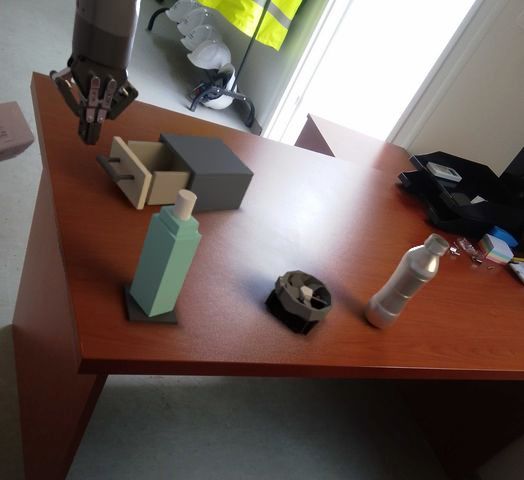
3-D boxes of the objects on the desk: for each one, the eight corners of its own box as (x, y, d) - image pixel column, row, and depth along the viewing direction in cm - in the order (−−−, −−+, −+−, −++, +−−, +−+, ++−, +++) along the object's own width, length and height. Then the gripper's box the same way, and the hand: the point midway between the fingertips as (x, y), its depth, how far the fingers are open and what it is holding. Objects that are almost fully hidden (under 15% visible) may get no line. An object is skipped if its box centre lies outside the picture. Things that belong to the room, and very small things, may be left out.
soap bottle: (148, 317, 65) (186, 209, 53) (129, 292, 67) (161, 182, 55) (172, 310, 68) (213, 206, 56) (153, 287, 70) (189, 181, 57)
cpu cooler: (343, 296, 81) (320, 320, 73) (327, 318, 84) (304, 342, 77) (297, 261, 82) (270, 281, 74) (283, 284, 86) (257, 305, 78)
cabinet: (182, 213, 87) (196, 173, 82) (149, 173, 92) (160, 133, 86) (238, 209, 97) (254, 173, 91) (206, 173, 101) (219, 137, 96)
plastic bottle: (371, 333, 87) (440, 252, 74) (354, 307, 91) (417, 226, 77) (394, 332, 91) (463, 255, 78) (376, 307, 94) (440, 229, 81)
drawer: (115, 210, 78) (123, 175, 73) (85, 170, 82) (91, 134, 77) (197, 206, 89) (209, 175, 85) (167, 171, 93) (177, 140, 89)
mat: (128, 321, 64) (129, 318, 64) (123, 286, 68) (124, 283, 68) (176, 324, 67) (178, 322, 67) (169, 291, 71) (170, 289, 71)
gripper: (69, 20, 54) (55, 154, 65) (164, 42, 63) (137, 157, 74) (42, -9, 57) (33, 125, 68) (137, 16, 65) (115, 131, 77)
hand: (87, 142), depth 71 cm, fingers closed
